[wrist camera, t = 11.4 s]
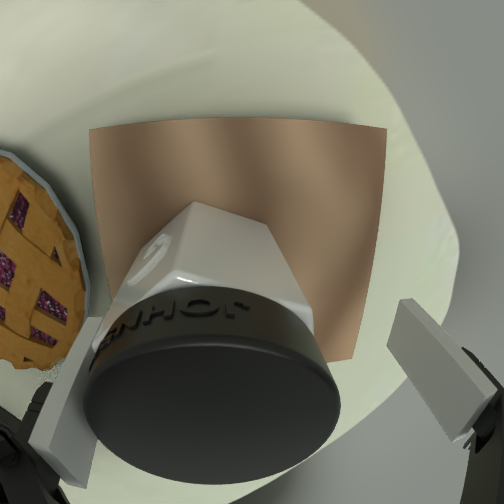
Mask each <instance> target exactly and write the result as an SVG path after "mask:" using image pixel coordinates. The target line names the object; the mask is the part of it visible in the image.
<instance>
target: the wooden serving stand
mask: <svg viewBox="0 0 504 504" xmlns="http://www.w3.org/2000/svg"><path fill="white" fill-rule="evenodd" d="M89 137H90V157H91V171H92V182H93V192H94V201H95V210H96V217H97V224H98V231H99V238H100V244H101V250H102V255H103V261H104V266H105V271H106V276H107V281H108V286H109V290H110V295H111V299H112V302H113V300H114V298H115V296H116V294H117V292H118V290H119V288H120V286H121V284H122V283H123V281H124V279H125V277H126V275H127V273H128V271H129V270H130V268H131V266H132V264H133V262H134V261H135V259H136V257H137V255H138V254H139V252H140V250H141V249H142V248H143V247H144V246H145V245H146V244H147V243H148V242H149V241H150V240H151V239H152V238H153V237H154V236H155V235H156V234H158V233H159V232H160V231H161V230H162V229H163V228H164V227H165V226H166V225H167V224H168V223H169V222H171V221H172V220H173V219H174V218H175V217H176V216H177V215H178V214H179V213H180V212H182V211H183V210H184V209H185V208H186V207H187V206H188V205H189V204H190V203H192V202H194V201H197V202H200V203H203V204H206V205H209V206H212V207H215V208H218V209H221V210H224V211H228V212H231V213H234V214H237V215H240V216H243V217H246V218H249V219H252V220H255V221H258V222H261V223H264V224H266V225H267V226H268V228H269V229H270V231H271V233H272V235H273V237H274V239H275V240H276V242H277V244H278V246H279V248H280V250H281V252H282V253H283V255H284V257H285V259H286V261H287V263H288V265H289V266H290V268H291V270H292V272H293V274H294V276H295V278H296V280H297V281H298V283H299V285H300V287H301V289H302V291H303V293H304V295H305V297H306V298H307V300H308V302H309V304H310V306H311V308H312V311H313V327H314V338H315V340H316V342H317V344H318V346H319V348H320V350H321V353H322V355H323V357H324V359H325V361H326V363H328V362H334V361H341V360H347V359H352V357H353V353H354V349H355V345H356V341H357V337H358V333H359V329H360V325H361V320H362V316H363V311H364V307H365V302H366V297H367V292H368V287H369V282H370V276H371V271H372V265H373V259H374V253H375V247H376V240H377V233H378V226H379V219H380V210H381V202H382V192H383V182H384V170H385V157H386V139H387V129H385V128H378V127H371V126H364V125H356V124H347V123H338V122H327V121H316V120H302V119H283V118H198V119H179V120H165V121H154V122H143V123H134V124H126V125H118V126H110V127H104V128H97V129H91V130H89Z"/></svg>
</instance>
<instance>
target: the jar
mask: <svg viewBox="0 0 504 504" xmlns="http://www.w3.org/2000/svg"><path fill="white" fill-rule="evenodd" d="M92 349H93V351H94V352H95V355H94V357H93V360H92V362H91V364H90V367H89V370H88V371H90V372H89V375H88V378H87V381H86V384H85V387H84V392H83V409H84V413H85V416H86V419H87V422H88V424H89V426H90V428H91V429H92V431H93V433H94V434H95V435H96V437H97V438H98V439H99V440H100V441H101V443H102V444H103V445H104V446H105V447H107V448H108V449H109V450H110V451H111V452H112V453H114V454H115V455H116V456H118V457H119V458H121V459H122V460H124V461H125V462H127V463H129V464H130V465H132V466H134V467H136V468H138V469H141V470H143V471H145V472H148V473H150V474H153V475H156V476H159V477H162V478H166V479H170V480H174V481H180V482H186V483H193V484H208V485H220V484H234V483H242V482H248V481H253V480H257V479H261V478H265V477H268V476H271V475H274V474H277V473H280V472H282V471H284V470H287V469H289V468H291V467H293V466H295V465H296V464H298V463H300V462H302V461H303V460H305V459H306V458H308V457H309V456H310V455H312V454H313V453H314V452H315V451H317V450H318V449H319V448H320V447H321V446H322V445H323V444H324V443H325V442H326V441H327V439H328V438H329V437H330V435H331V434H332V432H333V430H334V429H335V426H336V424H337V422H338V418H339V415H340V408H341V403H340V395H339V391H338V388H337V386H336V383H335V381H334V379H333V377H332V375H331V372H330V370H329V368H328V366H327V364H326V361H325V359H324V357H323V355H322V353H321V350H320V348H319V346H318V344H317V342H316V340H315V338H314V327H313V311H312V308H311V306H310V304H309V302H308V300H307V298H306V297H305V295H304V293H303V291H302V289H301V287H300V285H299V283H298V281H297V280H296V278H295V276H294V274H293V272H292V270H291V268H290V266H289V265H288V263H287V261H286V259H285V257H284V255H283V253H282V252H281V250H280V248H279V246H278V244H277V242H276V240H275V239H274V237H273V235H272V233H271V231H270V229H269V228H268V226H267V225H266V224H264V223H261V222H258V221H255V220H252V219H249V218H246V217H243V216H240V215H237V214H234V213H231V212H228V211H224V210H221V209H218V208H215V207H212V206H209V205H206V204H203V203H200V202H197V201H194V202H192V203H190V204H189V205H188V206H187V207H186V208H185V209H184V210H183V211H182V212H180V213H179V214H178V215H177V216H176V217H175V218H174V219H173V220H172V221H171V222H169V223H168V224H167V225H166V226H165V227H164V228H163V229H162V230H161V231H160V232H159V233H158V234H156V235H155V236H154V237H153V238H152V239H151V240H150V241H149V242H148V243H147V244H146V245H145V246H144V247H143V248H142V249H141V250H140V252H139V254H138V255H137V257H136V259H135V261H134V262H133V264H132V266H131V268H130V270H129V271H128V273H127V275H126V277H125V279H124V281H123V283H122V284H121V286H120V288H119V290H118V292H117V294H116V296H115V298H114V300H113V302H112V303H111V305H110V307H109V309H108V311H107V313H106V315H105V317H104V319H103V321H102V323H101V326H100V328H99V330H98V332H97V334H96V336H95V338H94V340H93V342H92Z"/></svg>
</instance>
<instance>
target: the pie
mask: <svg viewBox="0 0 504 504" xmlns="http://www.w3.org/2000/svg"><path fill="white" fill-rule="evenodd" d="M90 291H91V284H90V280H89V276H88V272H87V268H86V264H85V260H84V256H83V251H82V247H81V242H80V237H79V233H78V229H77V226H76V225H75V223H74V222H73V220H72V219H71V217H70V216H69V214H68V213H67V211H66V209H65V208H64V206H63V205H62V203H61V202H60V200H59V198H58V197H57V195H56V194H55V193H54V192H53V190H52V188H51V187H50V185H49V184H48V183H47V182H46V181H45V180H43V179H42V178H41V177H40V176H39V175H38V174H36V173H35V172H34V171H33V170H32V169H30V168H29V167H28V166H27V165H26V164H25V163H23V162H22V161H21V160H20V159H19V158H18V157H17V156H15V155H14V154H13V153H11V152H7V151H3V150H0V359H5V360H7V361H9V362H11V363H12V365H13V366H14V368H15V369H28V368H31V367H32V368H38V369H39V370H41V371H45V370H50V369H52V367H53V366H54V365H56V364H58V363H60V362H62V361H64V360H65V359H66V357H67V355H68V353H69V351H70V349H71V347H72V345H73V343H74V341H75V340H76V338H77V336H78V334H79V332H80V330H81V328H82V327H83V325H84V323H85V321H86V319H87V318H88V310H89V300H90Z"/></svg>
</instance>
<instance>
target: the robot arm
mask: <svg viewBox="0 0 504 504" xmlns="http://www.w3.org/2000/svg"><path fill="white" fill-rule="evenodd" d="M103 319H104V317H88V318H87V319H86V321H85V323H84V325H83V327H82V328H81V330H80V332H79V334H78V336H77V338H76V340H75V341H74V343H73V345H72V347H71V349H70V351H69V353H68V355H67V357H66V359H65V361H64V363H63V365H62V367H61V369H60V371H59V373H58V375H57V377H56V379H55V381H54V383H50V382H44V383H43V384H42V385H41V386H40V387H39V388H38V389H37V390H36V392H35V394H34V396H33V398H32V400H31V401H32V402H31V403H30V404H29V406H28V411H26V413H25V415H24V417H23V420H22V422H20V421H19V420H18V419H16V418H15V417H14V416H12V415H11V414H9V413H8V412H7V411H5V410H3V409H2V408H0V504H70V503H69V501H68V499H67V497H66V496H65V494H64V492H63V490H62V488H61V487H60V486H59V485H58V484H59V480H60V478H61V479H62V480H63V481H64V482H65V483H67V484H68V485H72V486H76V487H80V488H85V489H86V488H87V483H88V478H89V474H90V469H91V464H92V460H93V456H94V451H95V447H96V443H97V439H98V438H97V437H96V435H95V434H94V433H93V431H92V429H91V428H90V426H89V424H88V422H87V419H86V416H85V413H84V409H83V392H84V387H85V384H86V381H87V378H88V375H89V372H90V371H88V370H89V367H90V364H91V362H92V360H93V357H94V355H95V352H94V351H93V349H92V342H93V340H94V338H95V336H96V334H97V332H98V330H99V328H100V326H101V323H102V321H103ZM387 347H388V349H389V350H390V352H391V353H392V354H393V356H394V357H395V359H396V360H397V361H398V363H399V364H400V366H401V367H402V369H403V370H404V371H405V373H406V374H407V376H408V377H409V378H410V380H411V382H412V383H413V385H414V386H415V387H416V389H417V390H418V392H419V393H420V395H421V396H422V398H423V399H424V401H425V402H426V404H427V405H428V407H429V408H430V410H431V411H432V413H433V415H434V416H435V418H436V419H437V421H438V422H439V424H440V425H441V427H442V428H443V430H444V431H445V433H446V435H447V436H448V438H449V439H450V441H451V442H452V443H453V442H455V441H457V440H458V439H461V438H462V437H464V436H465V435H466V434H467V433H468V432H469V430H470V429H471V428H473V429H474V430H475V432H474V433H473V434H472V435H471V437H470V438H469V439H468V440H467V442H466V443H465V444H464V447H463V448H464V449H465V448H466V447H467V446H468V444H469V443H470V442H471V446H470V447H469V450H470V454H469V461H468V466H467V472H466V478H465V483H464V488H463V493H462V497H461V501H460V504H504V388H503V387H502V386H501V385H500V383H499V382H498V381H497V380H496V379H495V378H494V376H493V375H492V374H491V373H490V372H489V371H488V370H487V369H486V368H484V365H483V364H482V363H481V362H479V360H478V359H477V358H476V357H475V356H474V354H473V353H471V352H470V351H468V350H467V349H465V348H464V347H462V348H460V346H459V345H458V344H457V343H456V342H455V341H454V340H453V339H452V338H451V337H450V336H449V335H448V334H447V333H446V332H445V331H444V330H443V329H442V328H441V326H440V325H439V324H438V323H437V322H436V321H435V320H434V319H433V318H432V317H431V316H430V315H429V314H428V313H427V312H426V311H425V310H424V309H423V308H422V307H421V306H420V305H419V304H418V303H417V302H416V301H415V300H414V299H413V298H410V299H402V300H400V301H399V304H398V308H397V312H396V316H395V319H394V323H393V326H392V329H391V333H390V336H389V339H388V343H387Z"/></svg>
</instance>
